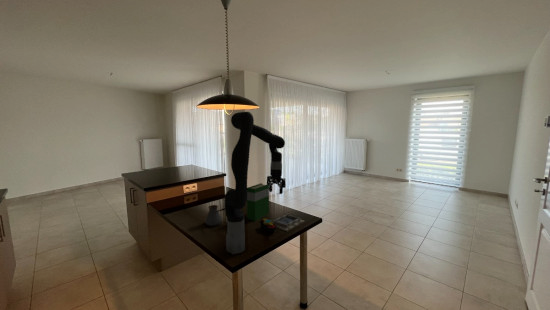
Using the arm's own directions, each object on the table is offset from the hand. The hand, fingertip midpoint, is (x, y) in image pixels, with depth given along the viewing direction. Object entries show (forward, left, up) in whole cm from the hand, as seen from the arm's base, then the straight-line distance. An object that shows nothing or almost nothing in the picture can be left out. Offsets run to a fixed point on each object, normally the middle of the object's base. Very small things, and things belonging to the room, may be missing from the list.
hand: (275, 192), depth 142 cm
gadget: (-5, -1, -25) cm, 26 cm away
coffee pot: (-22, +33, -25) cm, 47 cm away
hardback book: (+7, +24, -25) cm, 35 cm away
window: (+12, 0, -25) cm, 27 cm away
